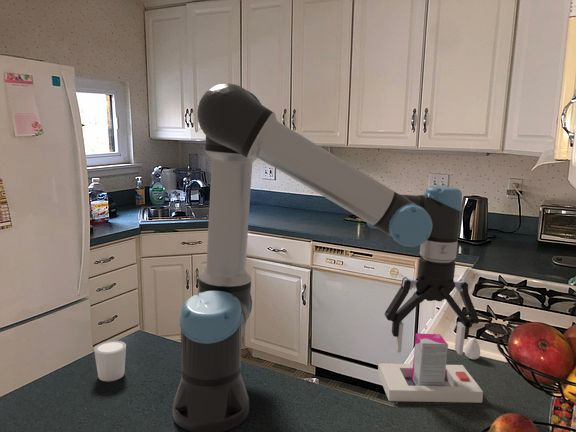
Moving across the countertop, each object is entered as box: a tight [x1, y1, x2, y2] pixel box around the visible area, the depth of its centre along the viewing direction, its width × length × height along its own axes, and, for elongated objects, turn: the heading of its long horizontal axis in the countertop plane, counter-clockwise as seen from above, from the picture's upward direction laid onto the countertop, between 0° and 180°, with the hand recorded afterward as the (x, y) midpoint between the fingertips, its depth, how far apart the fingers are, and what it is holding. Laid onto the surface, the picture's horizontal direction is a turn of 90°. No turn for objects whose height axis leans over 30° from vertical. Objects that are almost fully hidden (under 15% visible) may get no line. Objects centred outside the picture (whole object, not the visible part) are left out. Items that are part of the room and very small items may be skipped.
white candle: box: [93, 340, 127, 382], centre depth 109 cm, size 7×7×7 cm
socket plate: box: [377, 363, 484, 404], centre depth 107 cm, size 20×12×3 cm, turn 91°
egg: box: [463, 337, 481, 360], centre depth 122 cm, size 4×4×6 cm
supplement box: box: [412, 332, 449, 386], centre depth 107 cm, size 6×6×12 cm
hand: (428, 351), depth 106 cm, fingers open, 13 cm apart
